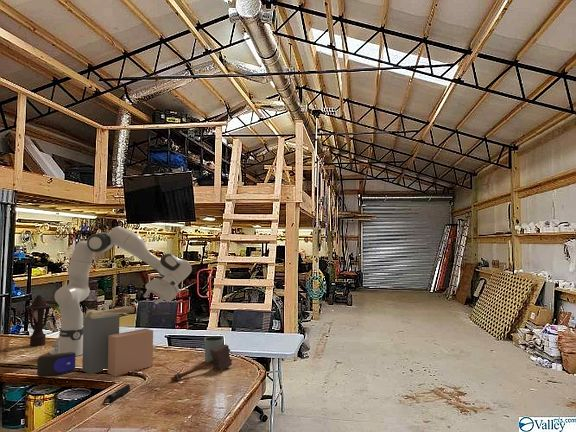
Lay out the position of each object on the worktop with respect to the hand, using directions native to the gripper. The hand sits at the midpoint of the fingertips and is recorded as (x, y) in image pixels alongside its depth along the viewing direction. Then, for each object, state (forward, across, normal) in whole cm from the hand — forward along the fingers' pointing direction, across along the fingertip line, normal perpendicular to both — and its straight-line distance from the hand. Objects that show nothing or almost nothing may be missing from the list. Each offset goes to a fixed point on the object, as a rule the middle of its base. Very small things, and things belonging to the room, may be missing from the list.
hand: (149, 299), depth 236 cm
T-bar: (+19, -1, -8) cm, 21 cm away
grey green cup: (+1, +41, +26) cm, 48 cm away
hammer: (+14, +51, +12) cm, 54 cm away
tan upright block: (+31, +19, +9) cm, 38 cm away
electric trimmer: (+47, +45, -13) cm, 66 cm away
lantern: (+49, -67, +28) cm, 88 cm away
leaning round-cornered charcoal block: (+54, -5, 0) cm, 55 cm away
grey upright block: (+40, +6, +7) cm, 41 cm away
